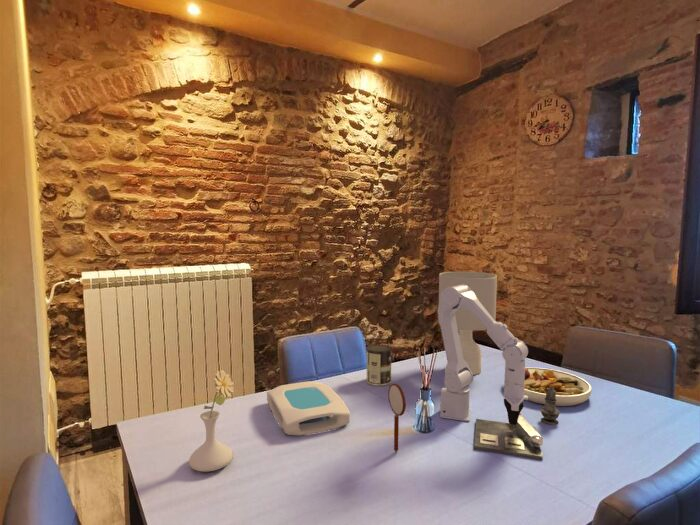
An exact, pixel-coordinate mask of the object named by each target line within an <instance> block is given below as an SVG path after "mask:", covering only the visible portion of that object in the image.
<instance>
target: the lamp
mask: <svg viewBox="0 0 700 525" xmlns="http://www.w3.org/2000/svg"><path fill="white" fill-rule="evenodd" d="M497 283H498V275H497V274H493V273H487V272H478V271H445V272H440V273H439V275H438V304H439V303H440V294H441V293H442V292H443V291H444V289H446V288H448V287H454V286H458V285H460V284H464V285H466V286H468V287H469V288H470V290H471V291H473V292H474V293H475V295H476V297H477V299H478V300H479V301H480V303H481V304H482V305H483V306H484V308H485V309H486V310H487V311H488V313H489V314H490V315H491V316H492V318H493V319H494V320H495V321H497V320H496V316H497V314H496V313H497V290H498V289H497V288H498V287H497V285H498V284H497ZM437 316H438V315H437ZM455 318H456V323H457V328H458V333H459V338H460V343H461V348H462V353H463V359H464V360H465V361H466V362H467V363H468V366H469V369H470V371H471V372H472V374H473V376H476V375H479V374H480V373H481V372H482V357H483V355H482V353H483V352H482V349H481V347H480V345H479V344H478V343H477V342H475V340H474V338H473V332H474V331H476V332H478V331H487V328H486V327H485V326H484V325H483V324H482V323H481V321H480V320H479V319H478V318H477V317H476V316H475V315H474V314H473V313H472V312H471V311H470V310H467V309H462V308H459V309H458V310H457V311H456V313H455ZM437 319H438V321H437V323H438V325H440V321H439V316H438V318H437Z"/></svg>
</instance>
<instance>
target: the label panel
mask: <svg viewBox="0 0 700 525" xmlns="http://www.w3.org/2000/svg"><path fill="white" fill-rule="evenodd" d="M531 426H532V425H531ZM532 427H533V428H534V429H535V431H536V432H537V433H538V431H537V426H532ZM474 433H475V434H474V446H473V447H474V448H473V449H474V450H476V451H483V452H488V453H489V452H490V453H496V454H503V455H509V456H515V457H521V458H527V459H528V458H529V459H535V460H538V461H539V460H541V461H542V460H543V457H544V456H543V452H542V448H541V445H534V444H533V443H532V442H531V441H530V440H529V439H528V438H527V437H526V436H525V435H524V434H523V432H522V431H521V430H520V429H519V428H518V427H517V426H516V425H513V424H509V422H502V421H496V420H495V421H494V420H487V419H481V418H480V419H479V418H476V419H475V432H474Z"/></svg>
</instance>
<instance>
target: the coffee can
mask: <svg viewBox="0 0 700 525" xmlns="http://www.w3.org/2000/svg"><path fill="white" fill-rule="evenodd" d="M365 350H366V383H367V384H369V385H370V386H377V387H378V386H379V387H380V386H381V387H382V386H388V385H390V384H391V383H392V347H391V346H389V345H386V344H371V345H368V346H367V347H366V349H365Z"/></svg>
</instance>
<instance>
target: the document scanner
mask: <svg viewBox="0 0 700 525" xmlns="http://www.w3.org/2000/svg"><path fill="white" fill-rule="evenodd" d="M266 400H267V404H268V406H269V409H270V411H271V410H272V412H273V414H274V415H273V414H272V415H273V417H274V416H275V417H274V419H275V418H276V419H275V421H276V420H277V421H276V423H277V422H278V423H279V425H280V426H279V425H278V426H279V428H280V427H281V428H282V429H283V430H282V429H281V428H280V429H281V430H282V431H283V432H284V433H285V434H287V435H288V436H289V435H290V436H298V437H303V436H302V435H306V436H309V435H308V434H311V435H314V434H313V433H316V434H320V433H319V432H321V433H325V432H324V431H326V432H329V431H328V430H331V431H335V430H334V429H336V430H338V429H340V428H342V427H343V426H345V425H348V424H349V423H351V422H350V421H351V412H350V410H349V408H348V406H347V405H346V403H345V402H344V400H343V399H342V398H341V397H340V396H339V395H338V394H337V393H336V392H335V391H334V390H333V388H331V386H329V385H328V384H327V385H326V384H325V383H321V382H316V381H310V380H309V381H303V382H296V383H295V382H294V383H288V384H283V385H282V384H281V385H278V386H276V387H273V389H270V390H267V392H266ZM272 412H271V413H272ZM323 417H327V419H323V420H320V421H314V422H309V423H301V422H304V421H308V420H313V419H318V418H323ZM328 417H329V418H328ZM278 423H277V424H278Z"/></svg>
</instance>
